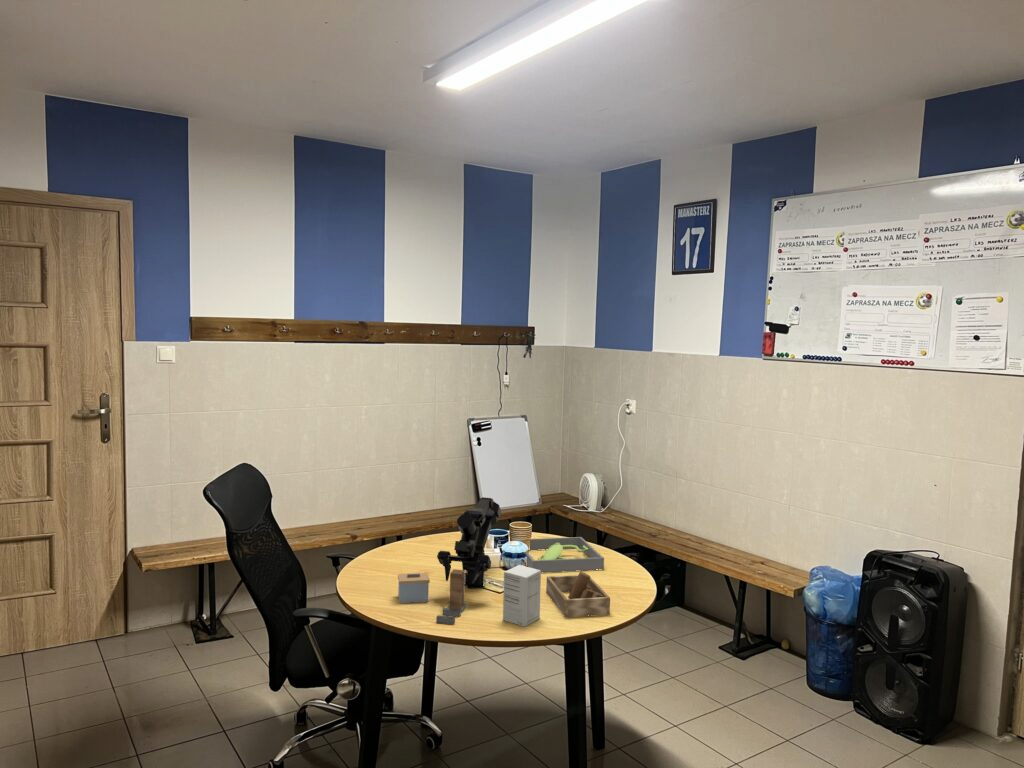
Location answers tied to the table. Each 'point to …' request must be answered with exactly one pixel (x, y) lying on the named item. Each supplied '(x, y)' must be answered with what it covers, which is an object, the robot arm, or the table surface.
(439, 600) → the table surface
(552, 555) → the figurine
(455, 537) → the table surface
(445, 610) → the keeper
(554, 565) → the tray
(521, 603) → the supplement box
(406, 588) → the toolbox
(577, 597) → the wooden block set
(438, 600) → the table surface
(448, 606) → the pad
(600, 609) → the block corral
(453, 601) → the brown block
